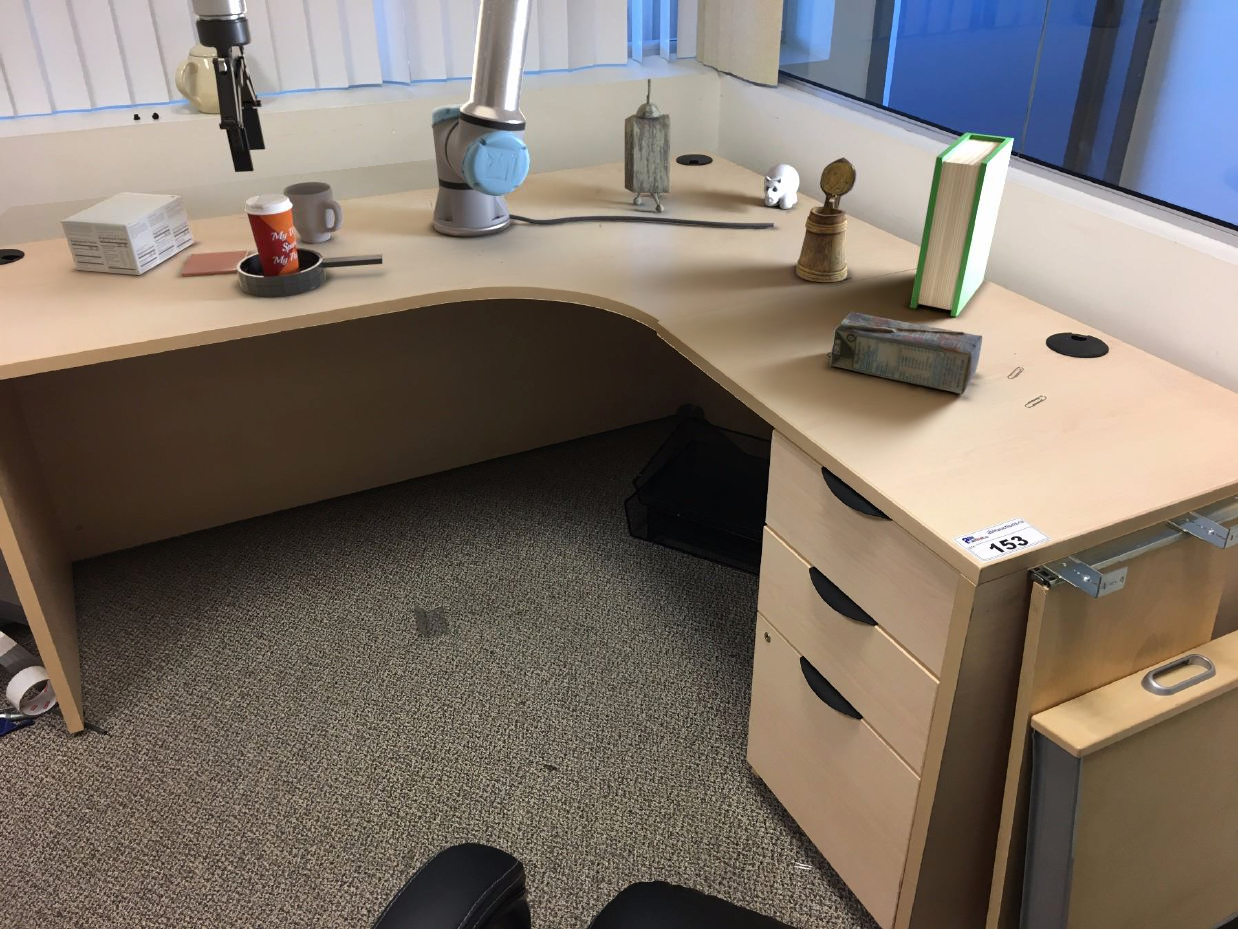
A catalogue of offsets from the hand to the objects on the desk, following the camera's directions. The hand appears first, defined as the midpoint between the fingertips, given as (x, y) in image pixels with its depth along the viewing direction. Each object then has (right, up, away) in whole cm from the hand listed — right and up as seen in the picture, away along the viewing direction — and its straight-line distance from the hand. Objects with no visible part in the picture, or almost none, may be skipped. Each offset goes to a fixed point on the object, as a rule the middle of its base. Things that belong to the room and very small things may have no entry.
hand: (250, 159), depth 153 cm
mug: (+3, -6, +29) cm, 30 cm away
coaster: (-13, -13, +18) cm, 26 cm away
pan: (+2, -18, +11) cm, 21 cm away
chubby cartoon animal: (+93, +4, +44) cm, 103 cm away
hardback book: (+115, -21, +5) cm, 117 cm away
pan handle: (+13, -14, +11) cm, 23 cm away
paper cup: (+2, -18, +10) cm, 20 cm away
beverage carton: (+100, -36, -19) cm, 108 cm away
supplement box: (-29, -11, +21) cm, 38 cm away
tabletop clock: (+66, +5, +47) cm, 81 cm away
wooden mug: (+96, -15, +15) cm, 99 cm away
